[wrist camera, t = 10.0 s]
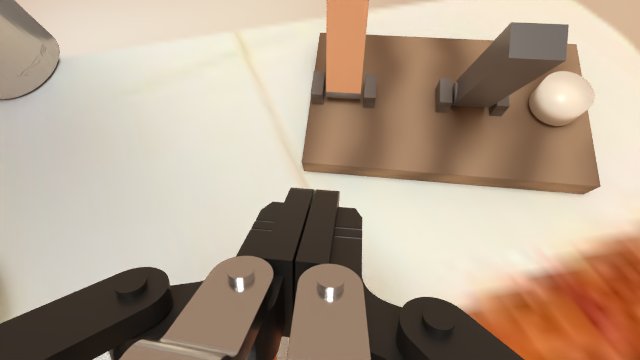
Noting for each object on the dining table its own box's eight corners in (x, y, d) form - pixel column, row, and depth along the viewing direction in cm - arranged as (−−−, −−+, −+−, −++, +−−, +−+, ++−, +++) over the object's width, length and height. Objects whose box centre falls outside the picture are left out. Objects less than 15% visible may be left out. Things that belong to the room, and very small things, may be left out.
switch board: (304, 170, 31) (299, 154, 28) (321, 46, 36) (319, 20, 33) (583, 194, 29) (615, 179, 26) (563, 58, 34) (587, 31, 30)
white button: (531, 124, 29) (544, 111, 27) (526, 84, 30) (539, 69, 29) (581, 127, 29) (598, 115, 27) (574, 87, 30) (590, 72, 28)
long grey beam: (449, 107, 31) (508, 57, 19) (451, 85, 31) (511, 22, 19) (484, 110, 30) (565, 60, 19) (486, 87, 30) (568, 24, 19)
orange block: (325, 101, 31) (327, -52, 23) (328, 89, 32) (330, -58, 24) (359, 103, 30) (373, -51, 22) (360, 91, 32) (373, -58, 24)
